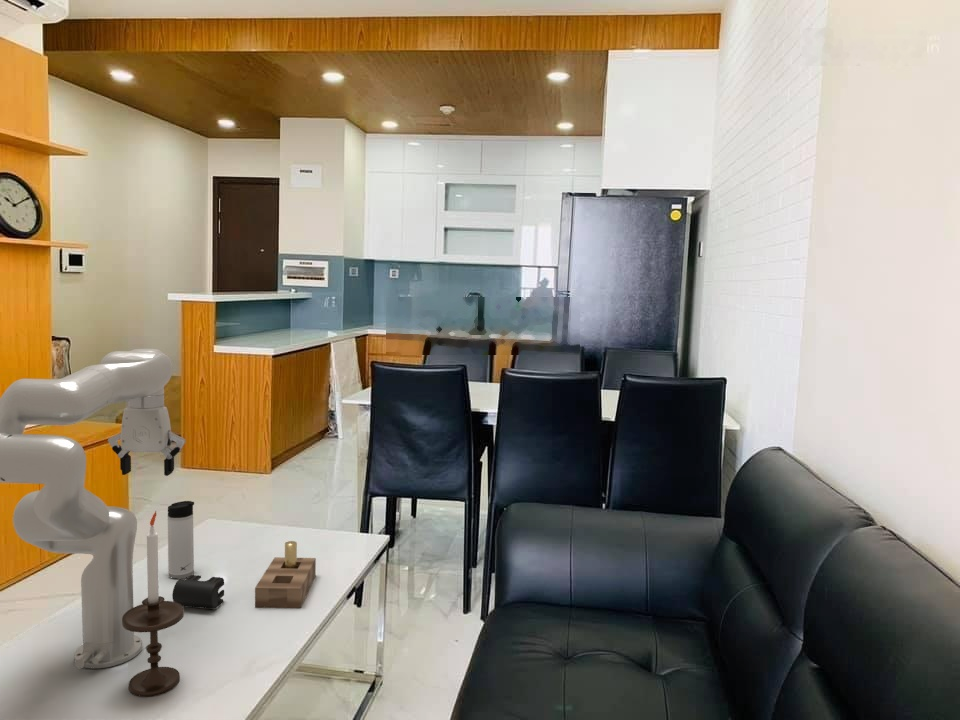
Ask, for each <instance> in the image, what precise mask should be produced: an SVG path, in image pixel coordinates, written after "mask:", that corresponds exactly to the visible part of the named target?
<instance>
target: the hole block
mask: <svg viewBox="0 0 960 720" xmlns="http://www.w3.org/2000/svg"><path fill="white" fill-rule="evenodd" d="M316 563H317V559H316V557H297V569H286V568H285V556H284V557H280V556H279V557H273V559H272V561H271V562H270V564H269V566H268V567H267V568H266V570H265V571H264V573H263V575H262V577H261V578H260V579H259V581H258V583H257V584H256V586H255V588H254V608H259V609H261V608H263V609H264V608H265V609H266V608H267V609H268V608H269V609H271V608H272V609H273V608H274V609H280V608H281V609H302V605H303V604H304V602H305V601H306V600H305V599H306V598H307V595H308V593H309V591H310V588H311V586H312V584H313V582H314V580H315V577H316V572H317V571H316V570H317V569H316V566H317V564H316Z"/></svg>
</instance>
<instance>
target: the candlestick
mask: <svg viewBox="0 0 960 720" xmlns="http://www.w3.org/2000/svg"><path fill="white" fill-rule="evenodd" d="M156 518H157V510H155V511H154V513H153V514H152V517H151V519H150V521H149V525H150V527H149V528H150V529H149V532H148V533H146V555H147V556H146V560H147V561H146V563H147V564H146V565H147V566H146V567H147V573H146V574H147V598H144V599H143V600H142V601H141V604H139V605H136V606H133V608H132V609H130V610H128V611H127V612H126V613H125V614H124V615H123V617H122V625H123V627H124V628H125V629H126V630H129V631H132V632H134V633H149V642H150V643H149V644H148V645H147V646H146V647H145V649H146V652H147V654H149V657H148V658H147V663H148V664H150V668H147V669H144V670H142V671H140V672H138V673H136V674H135V675H133V676H132V678H130V680H129V681H128V690H129V693H130V694H131V695H133V696H135V697H138V698H139V697H140V698H152V697H157V696H160V695H163V694H166V693H168V692H170V691H172V690H174V689H175V688H176V687H177V685H178V684H179V683H180V680H181V679H180V678H181V677H180V675H181V673H180V672H179V670H178V669H176V668H174V667H172V666H171V667H170V666H159V663H160V661H161V660H162V656H161V655H160V654H159V653H160V652H161V651H162V648H163V645H162V643H161V642H159V640H158V639H159V637H158V635H159V633H158V631H162V630H165V629H168V628H170V627H171V628H172V626H175V625H176V624H179V623H180V621H181V620H183V618H184V617H185V608H184V606H182V605H181V604H179V603H176V602H173V600H165V597H164V596H161V595H159V593H160V592H159V547H158V546H159V545H158V543H159V541H158V532H157V531H155V527H154V525H155V521H156Z"/></svg>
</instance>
